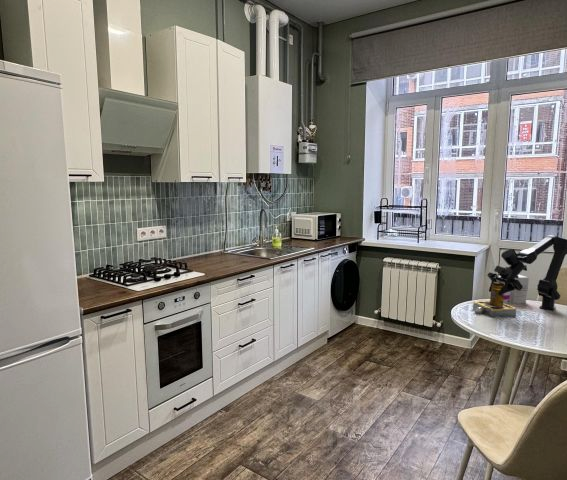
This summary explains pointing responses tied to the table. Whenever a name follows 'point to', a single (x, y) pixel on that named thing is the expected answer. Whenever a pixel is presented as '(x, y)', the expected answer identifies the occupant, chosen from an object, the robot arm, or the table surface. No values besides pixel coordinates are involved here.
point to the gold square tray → (493, 309)
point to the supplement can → (506, 296)
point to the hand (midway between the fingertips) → (493, 292)
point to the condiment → (496, 295)
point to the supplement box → (520, 295)
